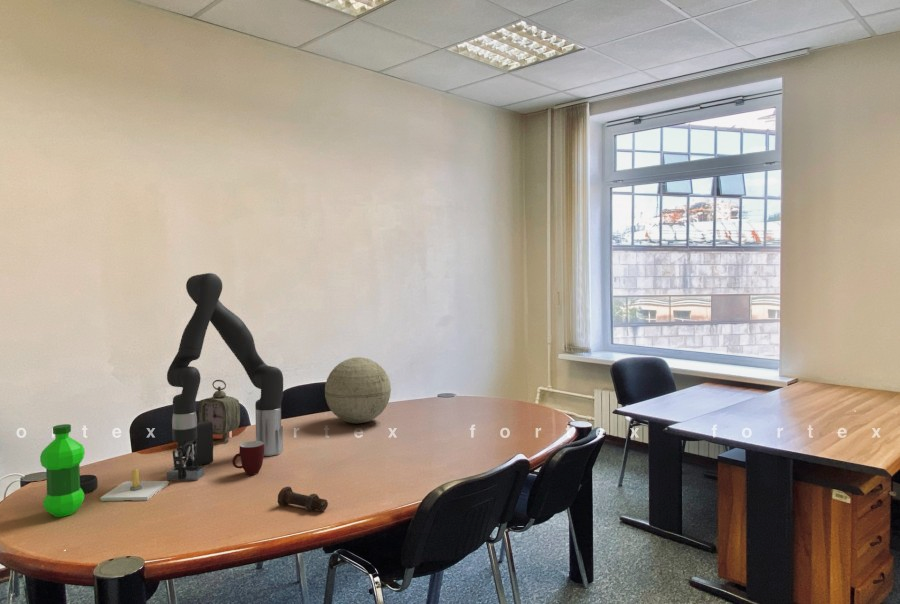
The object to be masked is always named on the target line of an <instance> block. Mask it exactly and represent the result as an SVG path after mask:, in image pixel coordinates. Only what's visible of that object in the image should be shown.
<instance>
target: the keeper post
mask: <svg viewBox="0 0 900 604" xmlns="http://www.w3.org/2000/svg"><path fill="white" fill-rule="evenodd" d="M139 471H140V470H139V469H138V468H134V469H132V470H131V476H132V479H131V481H130V480H128V481H127V480H126V481H123V482H121V483H120V484H119V485H118V486H116V487H115V488H113V489H111V490H110V491H108V492H107V493H105V494H104V495H102V496H101V497H99V499H100V502H113V501H114V502H118V501H119V502H121V501H122V502H123V501H124V500H132V501H149V500H150V499H151V498H153V497H154V496H155V495H157V494H158V493H159V492H160V491H162V490H163V489H165V488H166V487H167V486H168V485H169V483H170V481H167V480H141V481H140V475H139ZM167 484H168V485H167ZM166 485H167V486H166ZM162 488H163V489H162ZM161 489H162V490H161ZM158 491H159V492H158ZM157 492H158V493H157ZM154 494H155V495H154ZM153 495H154V496H153ZM152 496H153V497H152ZM149 498H150V499H149ZM148 499H149V500H148Z"/></svg>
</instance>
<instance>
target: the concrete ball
mask: <svg viewBox="0 0 900 604" xmlns="http://www.w3.org/2000/svg"><path fill="white" fill-rule="evenodd" d="M330 371H331V372H330V373H329V375H328V376H327V378H326V380H325V381H326V382H325V386H324V396H325V401H326V404H327V406H328V408H329V410H330V411H331V412H332V414H334V416H336V417H337V418H338V419H340V420H341V421H344V422H346V423H349V424H363V423H368V422H371V421H373V420H374V419H376V418H377V417H379V416H380V415H381V414H382V413H383V412H384V410H385V409H386V408H387V406H388V404H389V402H390V398H391V391H392V388H391V381H390V378H389V375H388V374H387V372H386V370H385V369H384V368H383V366H381V365H380V364H378V362H376V361H374V360H372V359H370V358H365V357H359V356H358V357H352V358H348V359H344V360H343V361H340V362H339V363H338V364H337V365H336V366H334V368H333V369H332V370H330Z"/></svg>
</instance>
